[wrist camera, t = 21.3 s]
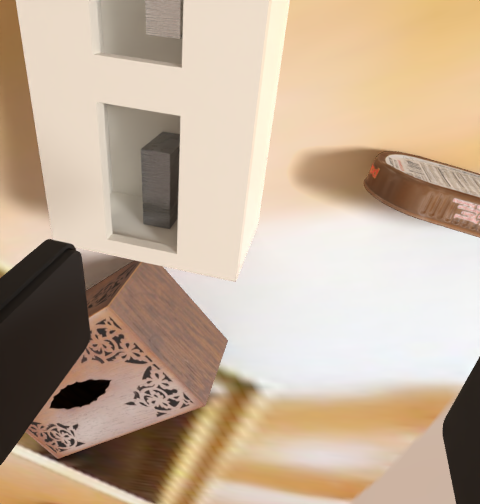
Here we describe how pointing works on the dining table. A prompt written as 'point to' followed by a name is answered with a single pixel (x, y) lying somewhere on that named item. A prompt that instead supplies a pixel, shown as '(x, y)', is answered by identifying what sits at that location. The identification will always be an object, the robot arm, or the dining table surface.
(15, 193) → the dining table surface
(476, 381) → the robot arm
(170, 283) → the tissue box cover
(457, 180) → the tin
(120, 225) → the white rectangular block
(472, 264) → the dining table surface
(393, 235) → the dining table surface
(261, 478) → the dining table surface
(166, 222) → the brushed metal block
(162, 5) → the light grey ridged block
